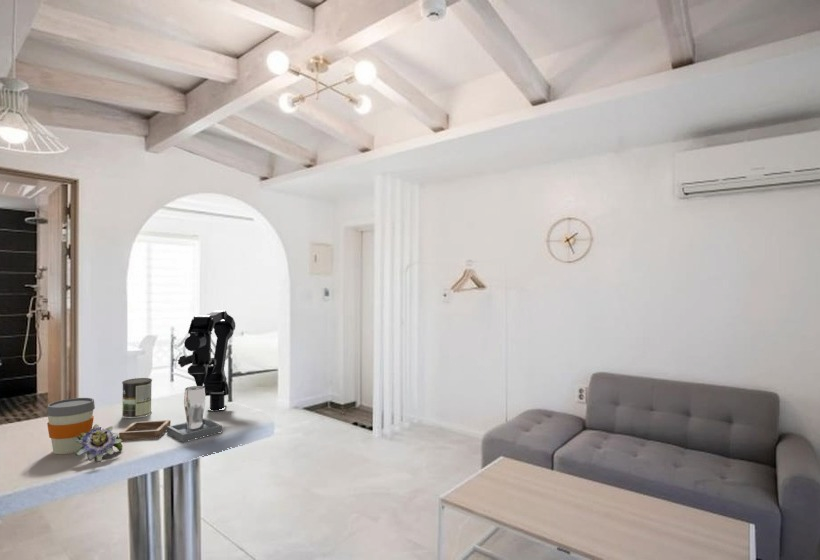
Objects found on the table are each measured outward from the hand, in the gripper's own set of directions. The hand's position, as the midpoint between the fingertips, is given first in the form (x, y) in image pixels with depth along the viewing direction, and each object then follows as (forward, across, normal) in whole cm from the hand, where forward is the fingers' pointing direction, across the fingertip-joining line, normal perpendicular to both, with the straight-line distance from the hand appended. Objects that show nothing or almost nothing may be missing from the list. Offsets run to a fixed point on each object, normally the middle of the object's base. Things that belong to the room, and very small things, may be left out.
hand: (202, 387), depth 176 cm
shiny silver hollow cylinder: (+12, +14, +1) cm, 19 cm away
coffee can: (+13, -13, -28) cm, 34 cm away
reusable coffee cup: (+13, +24, -34) cm, 44 cm away
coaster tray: (+13, +15, +1) cm, 20 cm away
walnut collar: (+13, +12, -16) cm, 24 cm away
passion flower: (+13, +33, -22) cm, 42 cm away
